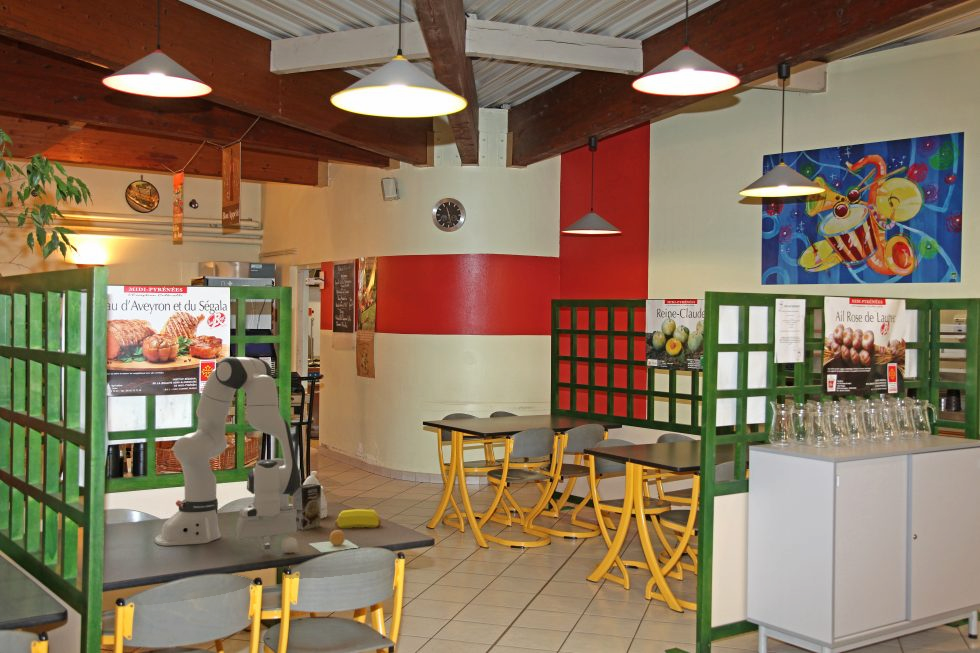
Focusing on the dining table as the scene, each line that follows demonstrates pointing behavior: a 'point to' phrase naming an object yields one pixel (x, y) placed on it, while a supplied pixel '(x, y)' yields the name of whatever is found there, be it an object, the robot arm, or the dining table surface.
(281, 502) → the tall pale column
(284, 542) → the cue ball
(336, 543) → the object ball
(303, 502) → the coffee box
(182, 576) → the dining table surface
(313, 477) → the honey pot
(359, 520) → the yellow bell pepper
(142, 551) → the dining table surface
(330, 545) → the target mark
